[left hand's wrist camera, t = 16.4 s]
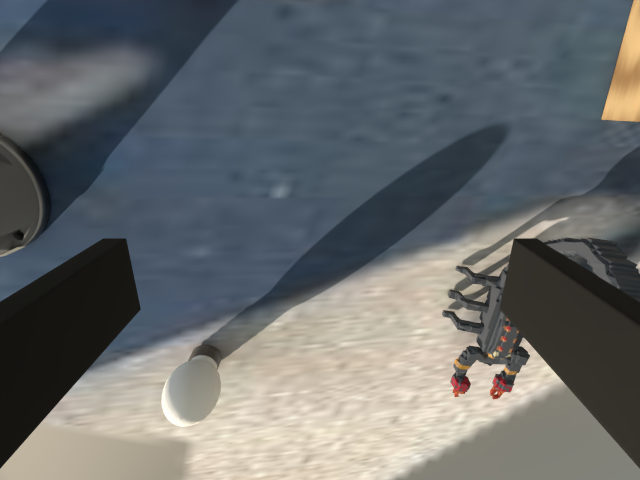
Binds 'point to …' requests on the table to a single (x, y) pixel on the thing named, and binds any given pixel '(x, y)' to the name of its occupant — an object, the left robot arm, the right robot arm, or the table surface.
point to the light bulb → (193, 388)
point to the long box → (626, 74)
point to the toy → (502, 335)
